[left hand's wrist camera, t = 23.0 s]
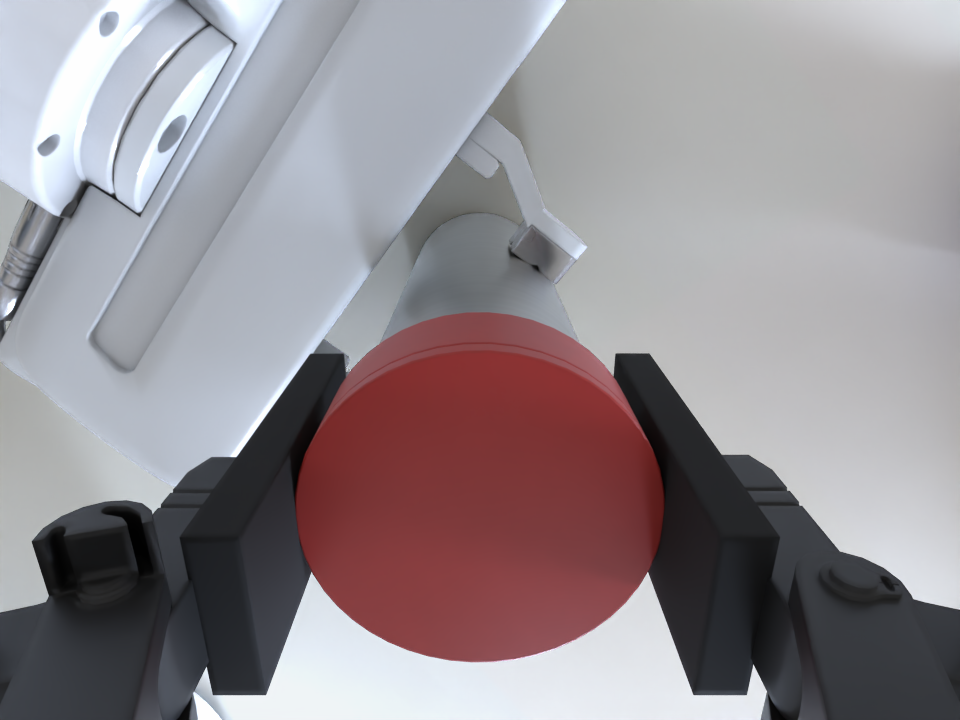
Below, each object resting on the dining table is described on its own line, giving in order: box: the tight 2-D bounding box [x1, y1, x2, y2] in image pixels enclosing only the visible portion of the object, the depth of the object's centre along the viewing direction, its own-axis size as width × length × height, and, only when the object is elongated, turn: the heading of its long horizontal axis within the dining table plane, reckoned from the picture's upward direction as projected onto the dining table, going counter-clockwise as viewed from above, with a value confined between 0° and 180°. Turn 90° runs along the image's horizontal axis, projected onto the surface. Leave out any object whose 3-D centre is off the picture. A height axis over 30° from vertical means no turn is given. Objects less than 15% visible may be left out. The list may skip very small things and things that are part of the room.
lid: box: [295, 312, 665, 662], centre depth 11 cm, size 6×6×2 cm
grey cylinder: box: [380, 213, 579, 343], centre depth 19 cm, size 5×5×16 cm
